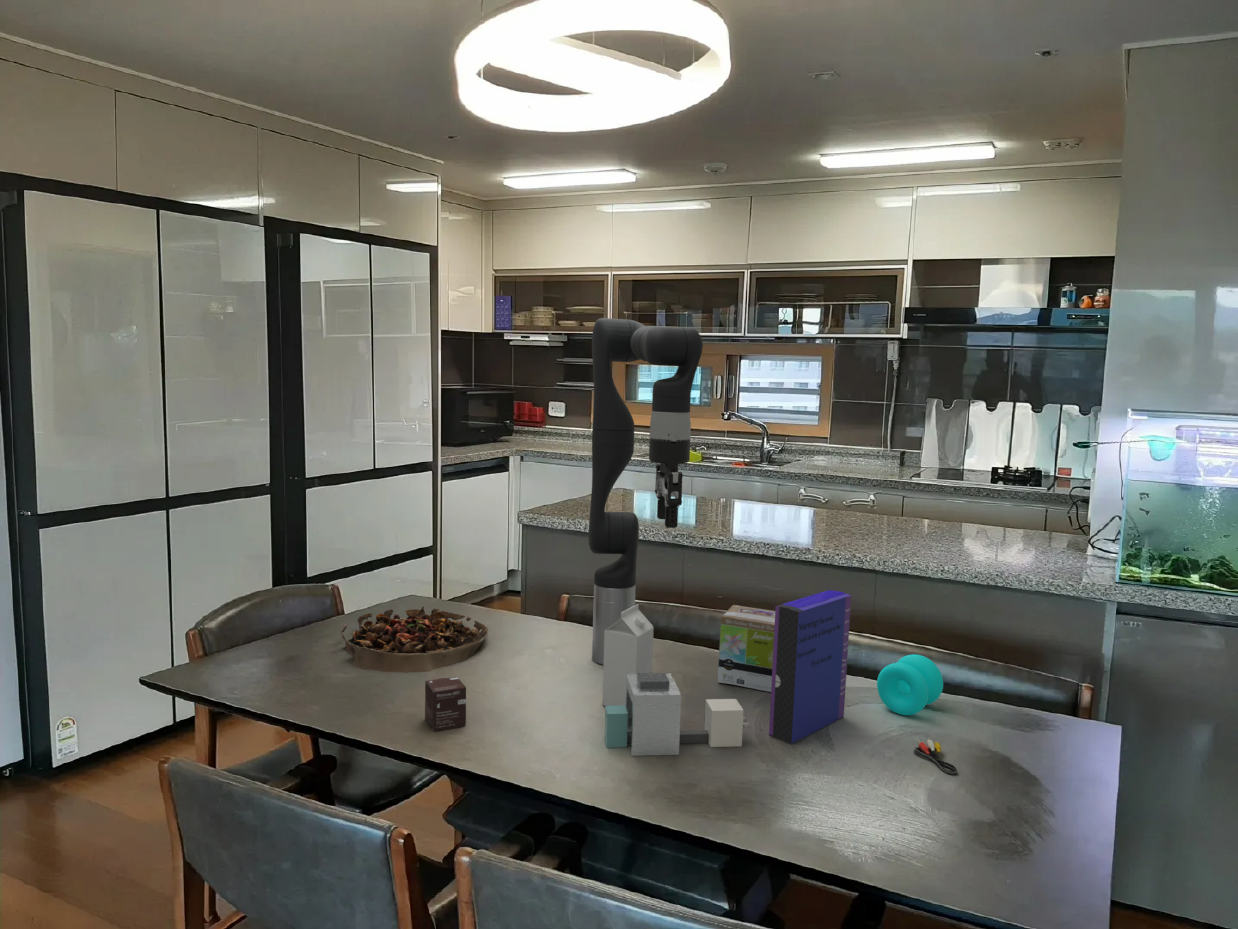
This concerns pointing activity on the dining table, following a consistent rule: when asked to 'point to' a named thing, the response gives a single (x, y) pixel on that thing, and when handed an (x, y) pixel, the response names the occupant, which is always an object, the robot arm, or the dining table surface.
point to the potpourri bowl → (413, 641)
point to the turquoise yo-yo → (909, 684)
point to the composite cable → (934, 756)
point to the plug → (719, 730)
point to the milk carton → (626, 653)
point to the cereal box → (809, 664)
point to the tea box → (747, 647)
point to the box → (445, 703)
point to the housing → (653, 713)
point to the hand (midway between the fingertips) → (666, 523)
